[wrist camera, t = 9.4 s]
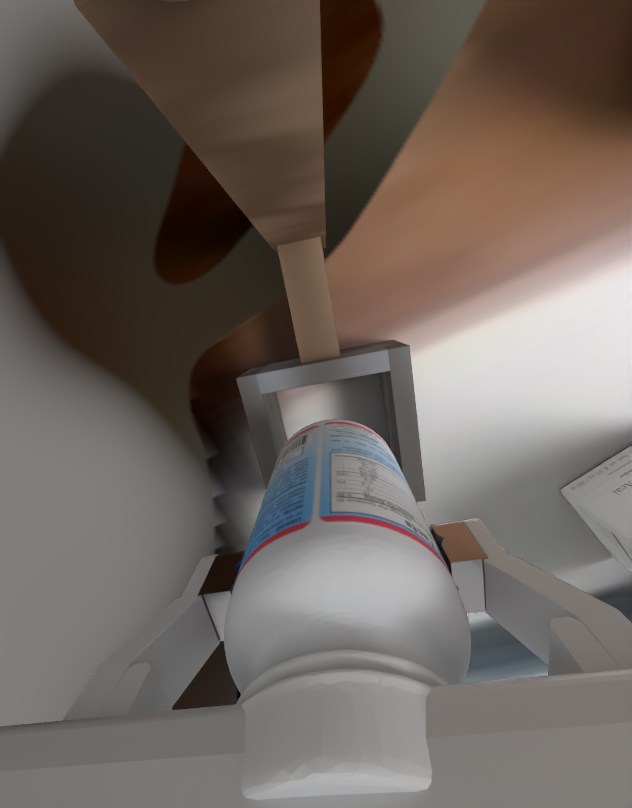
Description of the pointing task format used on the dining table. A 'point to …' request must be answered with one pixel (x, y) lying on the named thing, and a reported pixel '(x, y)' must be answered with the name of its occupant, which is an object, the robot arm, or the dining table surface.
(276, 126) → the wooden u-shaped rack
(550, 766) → the robot arm
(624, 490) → the supplement box
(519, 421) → the dining table surface
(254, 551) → the pill bottle
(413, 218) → the dining table surface
